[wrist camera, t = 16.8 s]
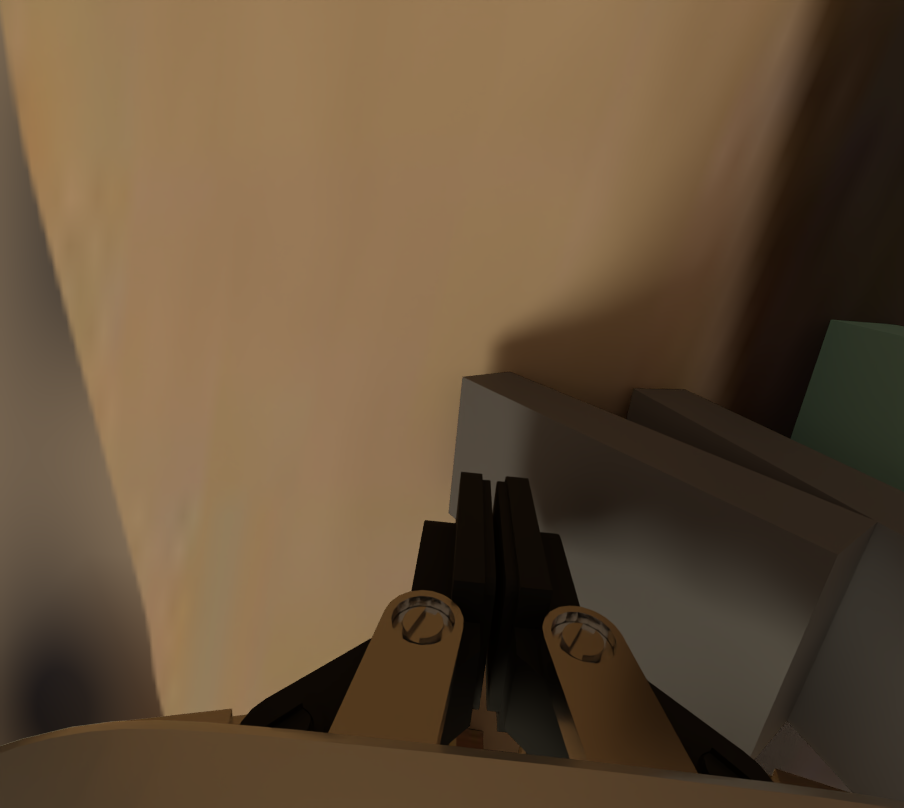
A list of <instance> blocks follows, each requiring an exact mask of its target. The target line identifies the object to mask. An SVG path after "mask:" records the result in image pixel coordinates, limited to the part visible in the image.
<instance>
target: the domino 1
mask: <svg viewBox="0 0 904 808" xmlns="http://www.w3.org/2000/svg"><path fill="white" fill-rule="evenodd" d="M461 472H470V473H480V474H482V475H483V480H490V481H491V496H492V512H493V505H494V497H495V489H496V483H497V481H503V482H505V477H506V476H510V477H520V478H528V479H529V483H530V488H531V493H532V497H533V502H534V506H535V511H536V516H537V520H538V525H539V529H540V532H546V533H555V534H559V535H560V538H561V540H562V544H563V547H564V551H565V555H566V558H567V562H568V565H569V569H570V572H571V576H572V579H573V583H574V586H575V590H576V593H577V597H578V601H579V604H580V607H584V608H587V609H590V610H593V611H595V612H597V613H599V614H601V615H602V616H604V617H606V618H607V619H608V620H609V621H611V622H612V623H613V624H614V625H615V626H616V627H617V629H618V630H619V631H620V633H621V634H622V635H623V637H624V639H625V641H626V643H627V645H628V646H629V648H630V650H631V652H632V654H633V656H634V657H635V659H636V661H637V663H638V665H639V666H640V668H641V670H642V672H643V674H644V676H645V677H646V679H647V680H648V681H649V682H650V683H652V684H653V685H654V686H656V687H657V688H659V689H660V690H661V691H663V692H664V693H665V694H667V695H668V696H669V697H671V698H672V699H673V700H675V701H676V702H678V703H679V704H680V705H682V706H683V707H684V708H686V709H687V710H688V711H690V712H691V713H693V714H694V715H695V716H697V717H698V718H699V719H701V720H702V721H703V722H705V723H706V724H707V725H709V726H710V727H712V728H713V729H714V730H716V731H717V732H718V733H720V734H721V735H722V736H724V737H725V738H726V739H728V740H729V741H731V742H732V743H733V744H735V745H736V746H737V747H739V748H740V749H741V750H743V751H744V752H745V753H746V754H748V755H749V756H750V757H751V758H752V759H753V760H755V758H756V757H757V756H758V755H759V754H760V752H761V751H762V750H763V749H764V748H765V746H766V745H767V744H768V743H769V742H770V740H771V739H772V738H773V737H774V736H775V734H776V733H777V732H778V731H779V730H780V728H781V727H782V726H783V725H784V724H785V722H786V721H787V720H788V717H789V715H790V713H791V711H792V709H793V706H794V704H795V702H796V700H797V698H798V695H799V693H800V691H801V689H802V687H803V684H804V682H805V680H806V678H807V676H808V673H809V671H810V669H811V667H812V665H813V662H814V660H815V658H816V656H817V654H818V651H819V649H820V647H821V645H822V643H823V640H824V638H825V636H826V634H827V632H828V629H829V627H830V625H831V623H832V621H833V618H834V616H835V614H836V612H837V610H838V607H839V605H840V603H841V601H842V599H843V596H844V594H845V592H846V590H847V588H848V585H849V583H850V581H851V579H852V577H853V574H854V572H855V570H856V568H857V566H858V563H859V561H860V559H861V557H862V555H863V552H864V550H865V548H866V546H867V544H868V541H869V539H870V537H871V535H872V533H873V530H874V528H875V526H876V524H877V521H875V520H872V519H870V518H868V517H865V516H863V515H860V514H858V513H855V512H853V511H850V510H848V509H845V508H843V507H841V506H838V505H836V504H833V503H831V502H828V501H826V500H823V499H821V498H818V497H816V496H814V495H811V494H809V493H806V492H804V491H801V490H799V489H796V488H794V487H791V486H789V485H787V484H784V483H782V482H779V481H777V480H774V479H772V478H769V477H767V476H764V475H762V474H759V473H757V472H755V471H752V470H750V469H747V468H745V467H742V466H740V465H737V464H735V463H732V462H730V461H728V460H725V459H723V458H720V457H718V456H715V455H713V454H710V453H708V452H705V451H703V450H701V449H698V448H696V447H693V446H691V445H688V444H686V443H683V442H681V441H678V440H676V439H674V438H671V437H669V436H666V435H664V434H661V433H659V432H656V431H654V430H651V429H649V428H647V427H644V426H642V425H639V424H637V423H634V422H632V421H629V420H627V419H624V418H622V417H620V416H617V415H615V414H612V413H610V412H607V411H605V410H602V409H600V408H597V407H595V406H593V405H590V404H588V403H585V402H583V401H580V400H578V399H575V398H573V397H570V396H568V395H566V394H563V393H561V392H558V391H556V390H553V389H551V388H548V387H546V386H543V385H541V384H539V383H536V382H534V381H531V380H529V379H526V378H524V377H521V376H519V375H516V374H514V373H512V372H503V373H494V374H485V375H475V376H466V377H463V378H462V387H461V397H460V407H459V417H458V426H457V436H456V446H455V456H454V465H453V475H452V485H451V495H450V504H449V514H450V515H451V516H453V517H454V518H455V519H456V514H457V504H458V494H459V484H460V475H461Z"/></svg>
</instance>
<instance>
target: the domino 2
mask: <svg viewBox="0 0 904 808" xmlns="http://www.w3.org/2000/svg"><path fill="white" fill-rule="evenodd" d="M627 420H629V421H632V422H634V423H637V424H639V425H642V426H644V427H647V428H649V429H651V430H654V431H656V432H659V433H661V434H664V435H666V436H669V437H671V438H674V439H676V440H678V441H681V442H683V443H686V444H688V445H691V446H693V447H696V448H698V449H701V450H703V451H705V452H708V453H710V454H713V455H715V456H718V457H720V458H723V459H725V460H728V461H730V462H732V463H735V464H737V465H740V466H742V467H745V468H747V469H750V470H752V471H755V472H757V473H759V474H762V475H764V476H767V477H769V478H772V479H774V480H777V481H779V482H782V483H784V484H787V485H789V486H791V487H794V488H796V489H799V490H801V491H804V492H806V493H809V494H811V495H814V496H816V497H818V498H821V499H823V500H826V501H828V502H831V503H833V504H836V505H838V506H841V507H843V508H845V509H848V510H850V511H853V512H855V513H858V514H860V515H863V516H865V517H868V518H870V519H872V520H875V521H877V524H876V526H875V528H874V530H873V533H872V535H871V537H870V539H869V541H868V544H867V546H866V548H865V550H864V552H863V555H862V557H861V559H860V561H859V563H858V566H857V568H856V570H855V572H854V574H853V577H852V579H851V581H850V583H849V585H848V588H847V590H846V592H845V594H844V596H843V599H842V601H841V603H840V605H839V607H838V610H837V612H836V614H835V616H834V618H833V621H832V623H831V625H830V627H829V629H828V632H827V634H826V636H825V638H824V640H823V643H822V645H821V647H820V649H819V651H818V654H817V656H816V658H815V660H814V662H813V665H812V667H811V669H810V671H809V673H808V676H807V678H806V680H805V682H804V684H803V687H802V689H801V691H800V693H799V695H798V698H797V700H796V702H795V704H794V706H793V709H792V711H791V713H790V715H789V717H788V720H787V721H788V722H789V723H790V724H791V725H792V727H793V728H794V729H795V730H796V731H797V732H798V733H799V734H800V735H801V736H802V738H803V739H804V740H805V741H806V742H807V743H808V744H809V745H810V746H811V747H812V748H813V750H814V751H815V752H816V753H817V754H818V755H819V756H820V757H821V758H822V759H823V761H824V762H825V763H826V764H827V765H828V766H829V767H830V768H831V769H832V770H833V772H834V773H835V774H836V775H837V776H838V777H839V778H840V779H841V780H842V781H843V782H844V784H845V785H846V786H847V787H848V788H849V789H850V790H851V791H852V792H853V793H855V794H863V795H870V796H876V797H881V798H887V799H892V800H898V801H904V492H903V491H901V490H899V489H896V488H894V487H892V486H890V485H888V484H886V483H884V482H881V481H879V480H877V479H875V478H873V477H871V476H869V475H867V474H864V473H862V472H860V471H858V470H856V469H854V468H852V467H849V466H847V465H845V464H843V463H841V462H839V461H837V460H834V459H832V458H830V457H828V456H826V455H824V454H822V453H820V452H817V451H815V450H813V449H811V448H809V447H807V446H805V445H802V444H800V443H798V442H796V441H794V440H792V439H790V438H787V437H785V436H783V435H781V434H779V433H777V432H775V431H772V430H770V429H768V428H766V427H764V426H762V425H760V424H758V423H755V422H753V421H751V420H749V419H747V418H745V417H743V416H740V415H738V414H736V413H734V412H732V411H730V410H728V409H725V408H723V407H721V406H719V405H717V404H715V403H713V402H711V401H708V400H706V399H704V398H702V397H700V396H698V395H696V394H693V393H691V392H689V391H687V390H676V389H633V393H632V397H631V402H630V406H629V410H628V415H627Z"/></svg>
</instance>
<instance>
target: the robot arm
mask: <svg viewBox="0 0 904 808" xmlns="http://www.w3.org/2000/svg"><path fill="white" fill-rule="evenodd" d="M485 664H486V704H487V711H496V714H497V731H499V732H507V733H508V734H509V735H510V736H511V737H512V738H513V739H514V740H515V741H516V742H517V743H518V744H519V745H520V747H519V753H512V752H503V751H493V750H484V749H475V748H466V747H457V746H449V743H451V742H452V741H453V740H454V739H455V738H456V737H458V736H459V735H460V734H461V733H462V732H463V731H465V730H466V729H467V728H468V727H469V726H470V722H471V714H472V709H478V710H479V705H480V698H481V692H482V685H483V678H484V671H485ZM0 808H904V801H898V800H892V799H887V798H881V797H876V796H870V795H863V794H855V793H850V792H847V791H844V790H841V789H837V788H834V787H831V786H828V785H825V784H822V783H819V782H816V781H813V780H810V779H807V778H803V777H800V776H797V775H794V774H791V773H788V772H785V771H782V770H779V769H776V768H775V770H774V772H773V774H772V776H771V775H768V774H767V773H766V772H765V771H764V770H763V769H762V767H761V766H760V765H759V764H758V763H757V762H756V761H754V760H753V759H752V758H751V757H750V756H749V755H748V754H746V753H745V752H744V751H743V750H741V749H740V748H739V747H737V746H736V745H735V744H733V743H732V742H731V741H729V740H728V739H726V738H725V737H724V736H722V735H721V734H720V733H718V732H717V731H716V730H714V729H713V728H712V727H710V726H709V725H707V724H706V723H705V722H703V721H702V720H701V719H699V718H698V717H697V716H695V715H694V714H693V713H691V712H690V711H688V710H687V709H686V708H684V707H683V706H682V705H680V704H679V703H678V702H676V701H675V700H673V699H672V698H671V697H669V696H668V695H667V694H665V693H664V692H663V691H661V690H660V689H659V688H657V687H656V686H654V685H653V684H652V683H650V682H649V681H648V680H647V679H646V677H645V676H644V674H643V672H642V670H641V668H640V666H639V665H638V663H637V661H636V659H635V657H634V656H633V654H632V652H631V650H630V648H629V646H628V645H627V643H626V641H625V639H624V637H623V635H622V634H621V633H620V631H619V630H618V629H617V627H616V626H615V625H614V624H613V623H612V622H611V621H609V620H608V619H607V618H606V617H604V616H602V615H601V614H599V613H597V612H595V611H593V610H590V609H587V608H584V607H580V604H579V601H578V597H577V593H576V590H575V586H574V583H573V579H572V576H571V572H570V569H569V565H568V562H567V558H566V555H565V551H564V547H563V544H562V540H561V538H560V535H559V534H555V533H546V532H540V529H539V525H538V520H537V516H536V511H535V506H534V502H533V497H532V493H531V488H530V483H529V479H528V478H520V477H510V476H506V477H505V482H503V481H497V483H496V489H495V497H494V505H493V512H492V496H491V481H490V480H483V475H482V474H480V473H470V472H461V475H460V484H459V494H458V504H457V514H456V523H447V522H437V521H428V520H425V521H424V526H423V531H422V537H421V542H420V548H419V553H418V558H417V564H416V569H415V575H414V580H413V585H412V591H410V592H407V593H404V594H402V595H399V596H398V597H396V598H395V599H394V600H392V601H391V602H390V603H389V605H388V606H387V607H386V609H385V610H384V613H383V615H382V617H381V619H380V621H379V623H378V626H377V628H376V630H375V632H374V634H373V636H372V638H371V639H369V640H367V641H366V642H364V643H362V644H360V645H359V646H357V647H355V648H353V649H352V650H350V651H348V652H346V653H345V654H343V655H341V656H339V657H338V658H336V659H334V660H333V661H331V662H329V663H327V664H326V665H324V666H322V667H320V668H319V669H317V670H315V671H313V672H312V673H310V674H308V675H306V676H305V677H303V678H301V679H299V680H298V681H296V682H294V683H293V684H291V685H289V686H287V687H286V688H284V689H282V690H280V691H279V692H277V693H275V694H273V695H272V696H270V697H268V698H266V699H265V700H264V701H262V702H261V703H259V704H258V705H257V706H255V707H254V708H253V709H252V710H251V711H250V712H249V713H248V714H247V715H239V716H233V715H232V709H224V710H216V711H207V712H198V713H189V714H180V715H171V716H162V717H153V718H144V719H136V720H127V721H113V722H106V723H98V724H91V725H83V726H76V727H69V728H65V729H61V730H57V731H53V732H49V733H45V734H40V735H36V736H32V737H28V738H24V739H20V740H17V741H14V742H11V743H8V744H5V745H2V746H0Z"/></svg>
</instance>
